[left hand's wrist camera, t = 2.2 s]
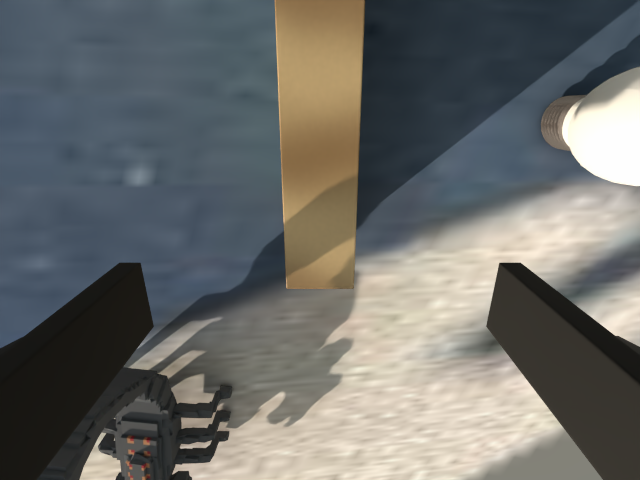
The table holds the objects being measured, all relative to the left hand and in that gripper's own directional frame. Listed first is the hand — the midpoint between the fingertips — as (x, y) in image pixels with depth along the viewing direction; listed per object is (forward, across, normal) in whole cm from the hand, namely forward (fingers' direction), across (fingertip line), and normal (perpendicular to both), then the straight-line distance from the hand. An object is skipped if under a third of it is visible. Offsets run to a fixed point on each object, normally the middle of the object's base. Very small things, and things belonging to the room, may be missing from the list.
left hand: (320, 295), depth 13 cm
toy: (+17, -17, -24) cm, 34 cm away
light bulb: (+17, +19, +6) cm, 26 cm away
